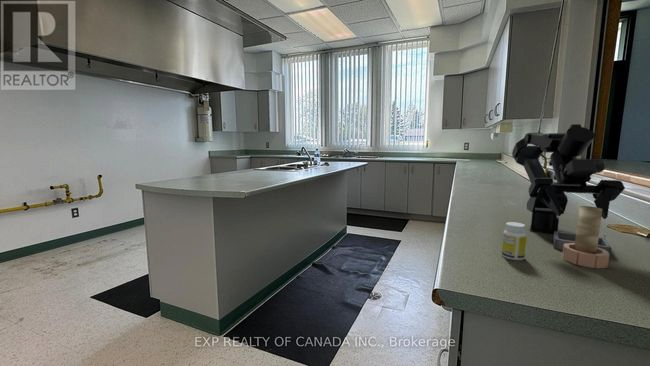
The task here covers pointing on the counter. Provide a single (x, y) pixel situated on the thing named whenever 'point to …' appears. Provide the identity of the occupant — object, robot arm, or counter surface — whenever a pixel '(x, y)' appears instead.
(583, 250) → the dowel
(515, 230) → the supplement bottle
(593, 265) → the pink faceted bowl
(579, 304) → the counter surface
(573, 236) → the tray
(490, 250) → the counter surface
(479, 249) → the counter surface
